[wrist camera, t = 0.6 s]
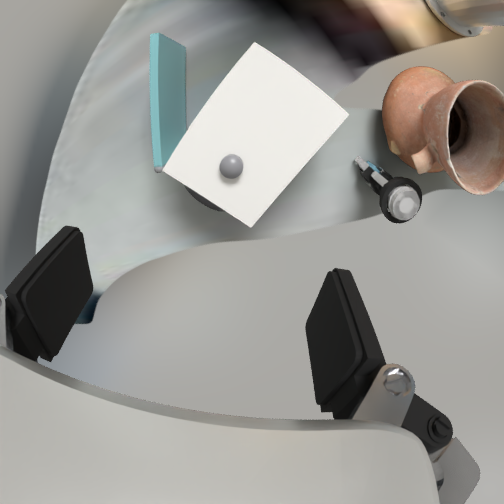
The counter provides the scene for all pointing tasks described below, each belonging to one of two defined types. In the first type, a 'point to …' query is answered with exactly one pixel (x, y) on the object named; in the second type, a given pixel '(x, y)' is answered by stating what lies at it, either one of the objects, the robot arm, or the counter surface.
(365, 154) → the counter surface
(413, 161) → the ceramic jug
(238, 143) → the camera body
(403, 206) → the push button
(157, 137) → the side door
